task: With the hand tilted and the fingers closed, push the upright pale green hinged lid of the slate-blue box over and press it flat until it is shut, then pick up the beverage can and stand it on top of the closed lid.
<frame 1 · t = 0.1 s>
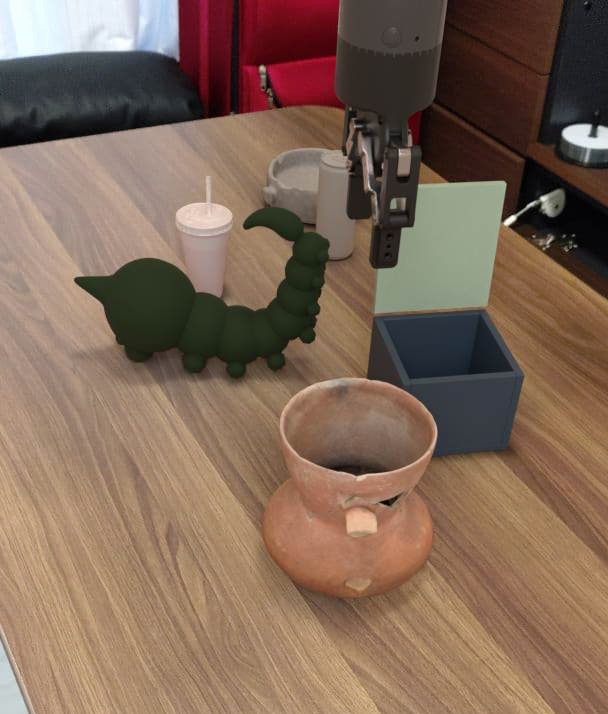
hand: (370, 240, 81), 21 cm above the table, tool pointing down, fingers open, 8 cm apart
dish: (313, 206, 132), on the table
ceramic jug: (344, 550, 85), on the table
smoothie: (206, 294, 114), on the table
lid: (437, 249, 92), point 15 cm above the table, hinge at 95.0°
box: (433, 418, 99), on the table
beverage can: (333, 253, 123), on the table
toy figurine: (202, 363, 104), on the table
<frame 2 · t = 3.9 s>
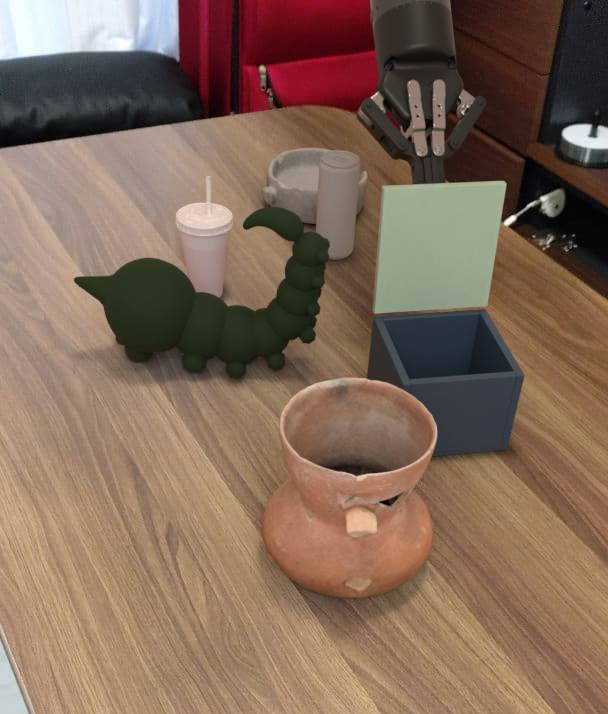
hand: (431, 200, 93), 18 cm above the table, tool tilted 45°, fingers closed
nothing on the table moved.
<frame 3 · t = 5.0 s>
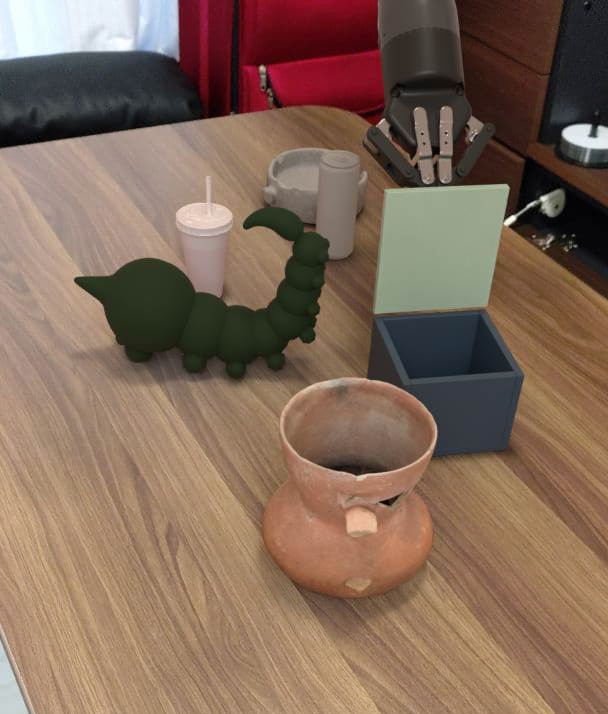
hand: (437, 228, 92), 17 cm above the table, tool tilted 45°, fingers closed
lid: (438, 251, 92), point 15 cm above the table, hinge at 91.0°, touching gripper
everything else where it was.
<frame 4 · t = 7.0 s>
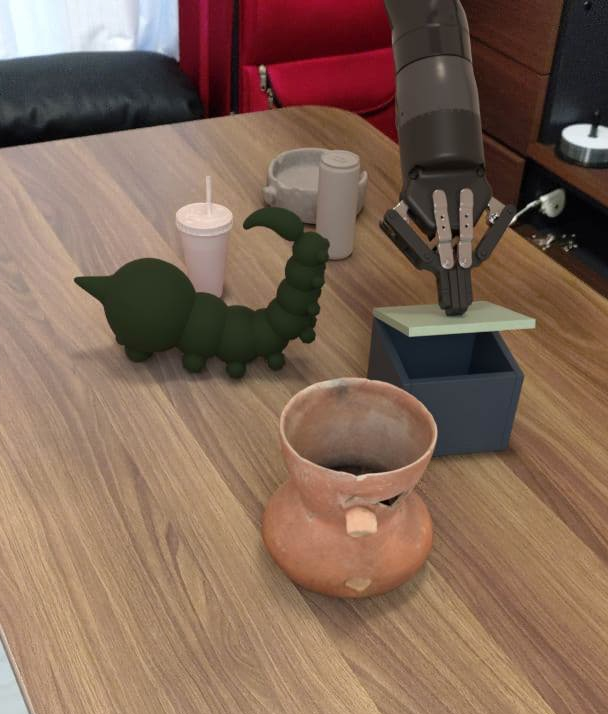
hand: (457, 313, 88), 13 cm above the table, tool tilted 45°, fingers closed
lid: (450, 317, 91), point 12 cm above the table, hinge at 23.0°
everything else where it was.
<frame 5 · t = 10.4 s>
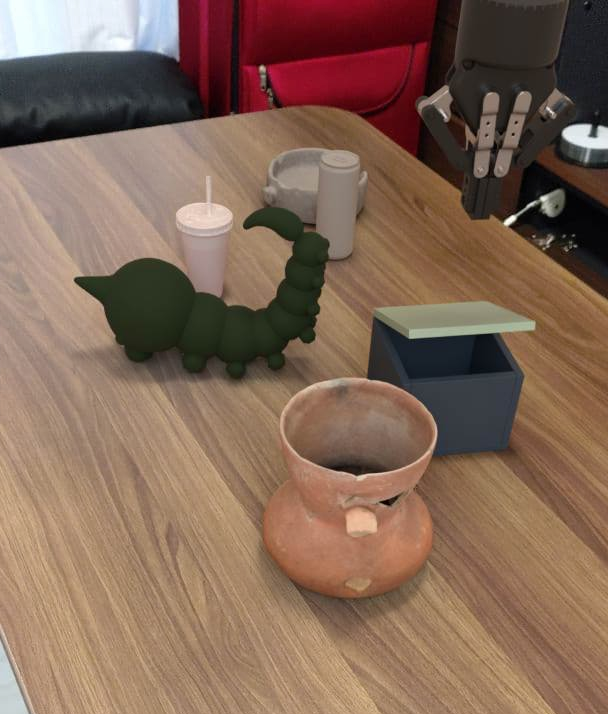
hand: (477, 215, 81), 23 cm above the table, tool pointing down, fingers closed
lid: (450, 318, 91), point 12 cm above the table, hinge at 22.2°
everything else where it was.
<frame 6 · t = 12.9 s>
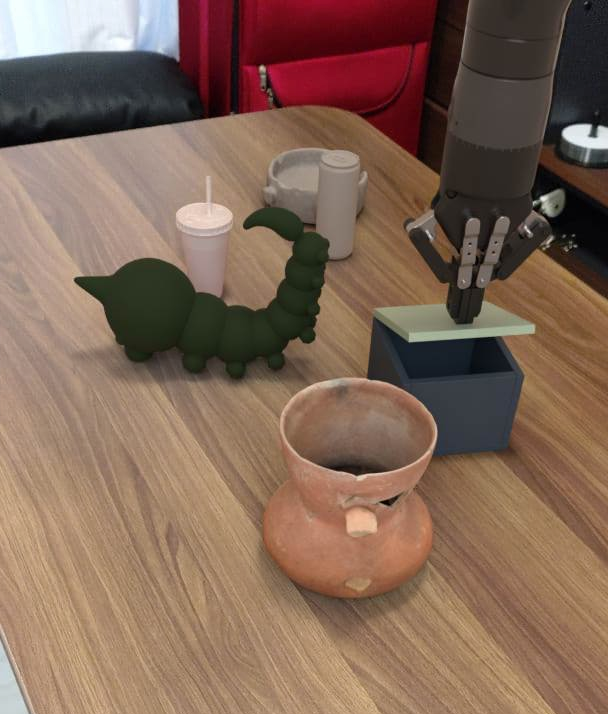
hand: (461, 319, 88), 13 cm above the table, tool pointing down, fingers closed
lid: (450, 320, 91), point 11 cm above the table, hinge at 20.7°, touching gripper
everything else where it was.
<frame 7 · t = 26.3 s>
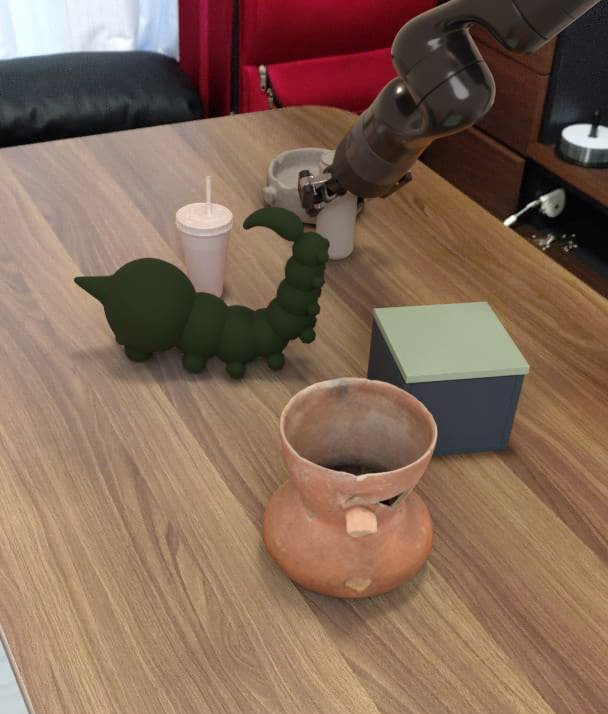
hand: (331, 206, 120), 5 cm above the table, tool tilted 45°, fingers closed on beverage can, 5 cm apart
lid: (448, 340, 92), point 10 cm above the table, hinge at 2.4°
beverage can: (333, 253, 123), on the table, touching gripper
everything else where it was.
when the fingers open (15 cm above the table, at t = 37.3 s): beverage can stays where it is, resting on lid.
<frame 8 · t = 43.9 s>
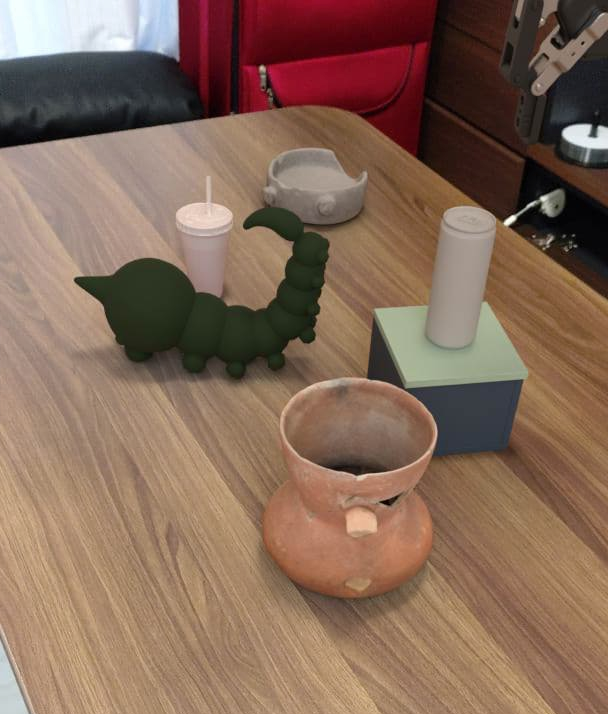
hand: (579, 139, 75), 30 cm above the table, tool pointing down, fingers open, 8 cm apart
lid: (448, 342, 92), point 9 cm above the table, hinge at -0.3°, touching beverage can, box
beverage can: (448, 339, 92), point 9 cm above the table, touching lid
everything else where it was.
at the end: lid at +0° (first picture: +95°); beverage can inside the target area on the box (0.2 cm from its centre), point 9.4 cm above the box's base; beverage can tilted 0° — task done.
